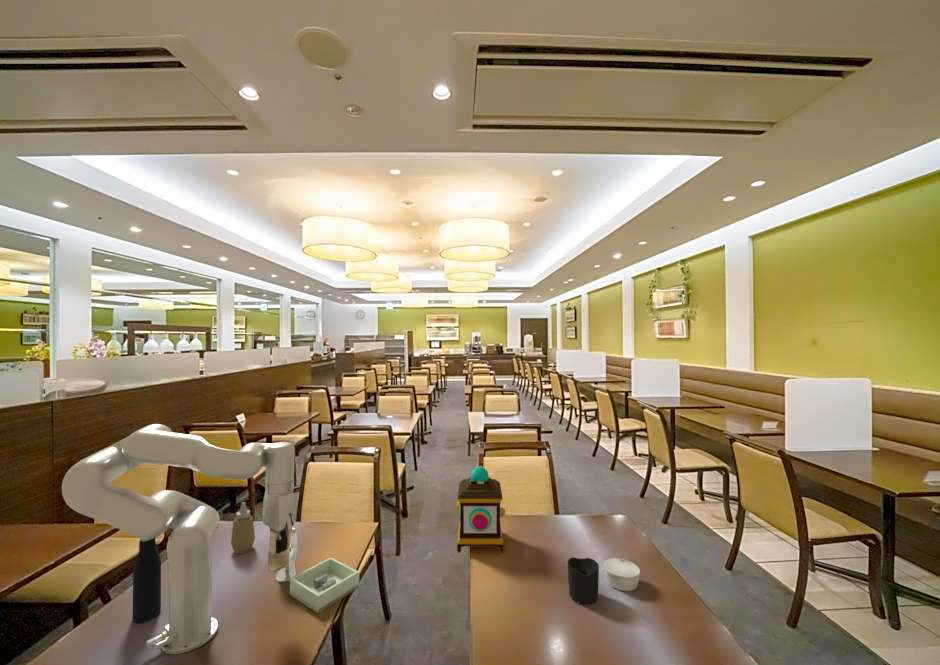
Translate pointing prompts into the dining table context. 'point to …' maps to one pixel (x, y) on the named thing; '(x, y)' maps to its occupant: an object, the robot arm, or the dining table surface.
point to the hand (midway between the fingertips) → (279, 549)
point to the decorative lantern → (479, 511)
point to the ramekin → (621, 574)
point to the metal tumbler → (289, 571)
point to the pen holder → (583, 580)
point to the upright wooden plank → (274, 559)
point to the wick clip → (323, 582)
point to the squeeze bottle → (243, 531)
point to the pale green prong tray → (317, 597)
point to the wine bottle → (146, 582)
